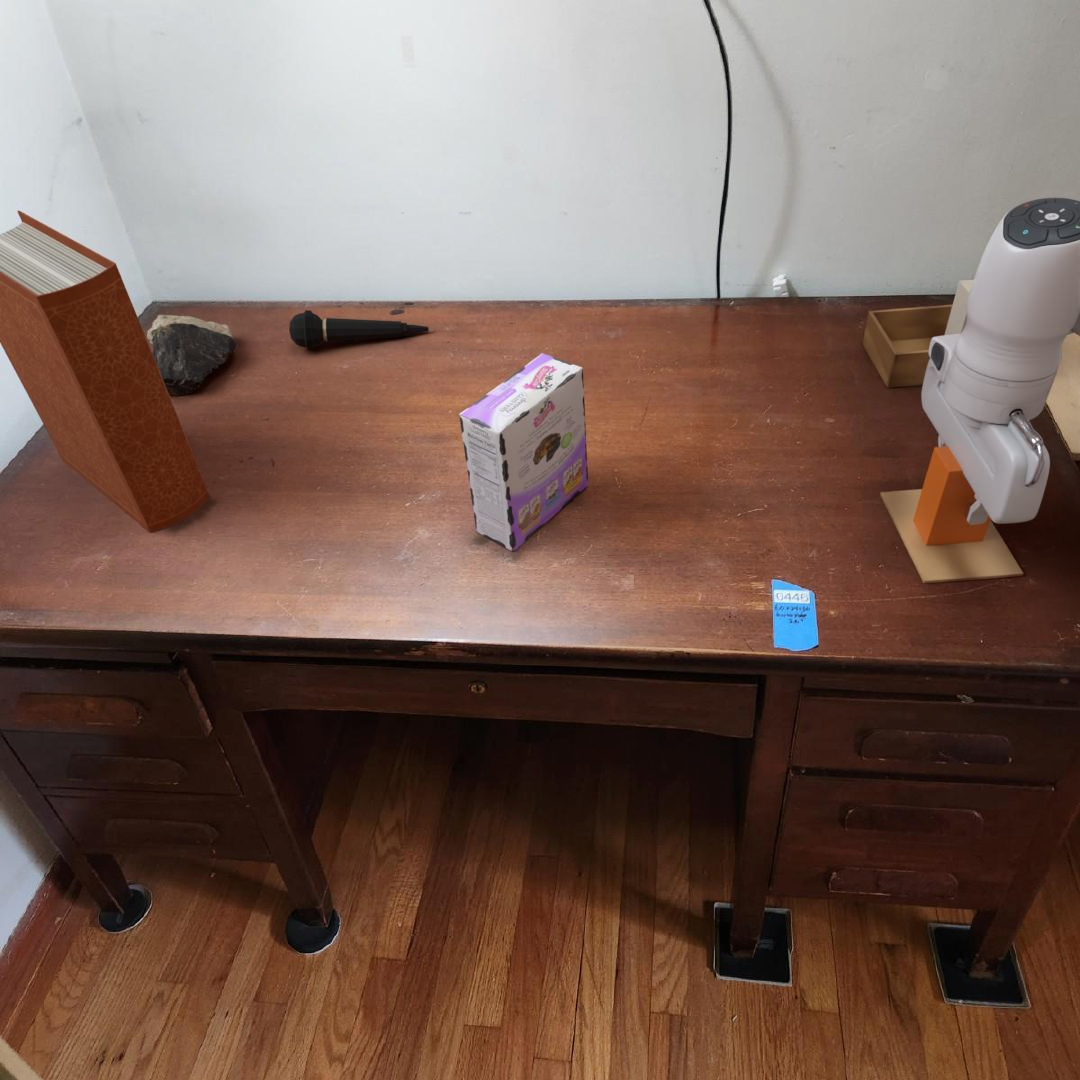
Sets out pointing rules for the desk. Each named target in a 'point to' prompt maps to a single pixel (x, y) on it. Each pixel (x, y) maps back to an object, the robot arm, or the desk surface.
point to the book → (94, 375)
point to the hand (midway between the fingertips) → (959, 496)
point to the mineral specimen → (188, 350)
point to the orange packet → (946, 503)
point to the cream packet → (959, 308)
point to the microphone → (344, 329)
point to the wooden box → (903, 341)
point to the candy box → (526, 449)
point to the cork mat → (948, 547)
